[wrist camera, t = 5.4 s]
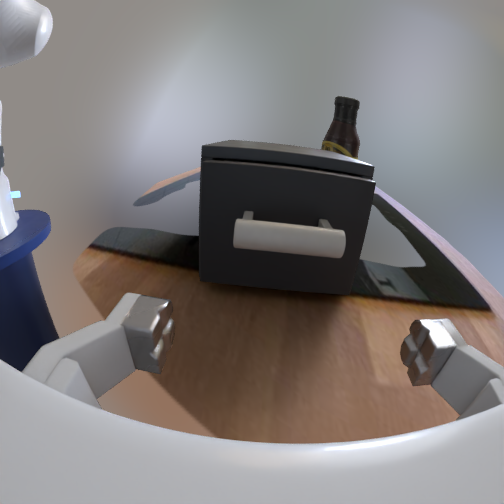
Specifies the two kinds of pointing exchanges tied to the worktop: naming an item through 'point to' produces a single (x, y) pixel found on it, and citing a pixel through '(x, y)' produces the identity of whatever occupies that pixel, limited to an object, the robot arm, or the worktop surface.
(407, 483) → the robot arm
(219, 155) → the cabinet
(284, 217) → the drawer
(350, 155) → the sauce bottle
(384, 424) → the worktop surface
